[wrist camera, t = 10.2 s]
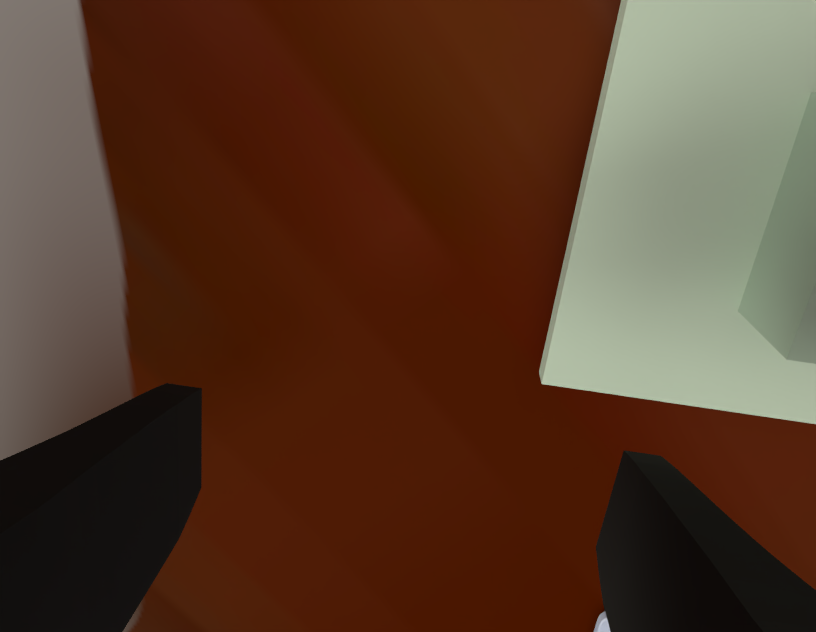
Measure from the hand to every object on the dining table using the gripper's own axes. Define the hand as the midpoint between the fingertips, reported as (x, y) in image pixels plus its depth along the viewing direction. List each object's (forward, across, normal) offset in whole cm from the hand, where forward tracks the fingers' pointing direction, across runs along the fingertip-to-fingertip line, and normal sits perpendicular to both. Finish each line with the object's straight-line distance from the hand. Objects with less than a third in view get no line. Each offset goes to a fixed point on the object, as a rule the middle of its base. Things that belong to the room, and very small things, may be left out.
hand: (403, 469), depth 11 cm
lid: (+10, -10, -4) cm, 14 cm away
